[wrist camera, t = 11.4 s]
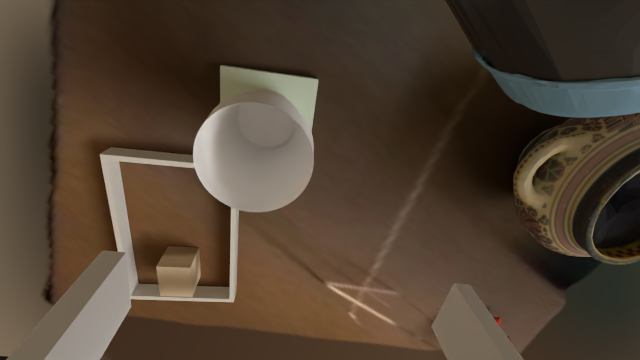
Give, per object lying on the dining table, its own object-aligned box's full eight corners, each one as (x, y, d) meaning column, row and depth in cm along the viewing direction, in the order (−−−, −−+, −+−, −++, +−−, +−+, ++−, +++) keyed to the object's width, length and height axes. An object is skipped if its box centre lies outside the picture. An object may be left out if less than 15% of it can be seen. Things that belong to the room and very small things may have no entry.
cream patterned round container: (437, 163, 41) (483, 253, 29) (545, 37, 30) (683, 98, 19) (564, 213, 47) (643, 303, 35) (690, 121, 36) (862, 207, 25)
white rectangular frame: (110, 147, 33) (99, 154, 31) (240, 159, 35) (237, 167, 33) (134, 286, 42) (126, 298, 40) (236, 290, 44) (233, 302, 42)
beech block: (168, 245, 40) (156, 266, 36) (199, 247, 40) (190, 267, 37) (171, 273, 42) (160, 296, 38) (200, 274, 42) (192, 296, 39)
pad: (222, 64, 30) (220, 65, 29) (317, 78, 32) (318, 79, 31) (222, 154, 35) (220, 158, 34) (306, 163, 36) (306, 166, 35)
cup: (323, 106, 32) (339, 140, 21) (283, 171, 35) (279, 230, 24) (247, 59, 29) (222, 72, 19) (211, 134, 32) (171, 182, 22)
